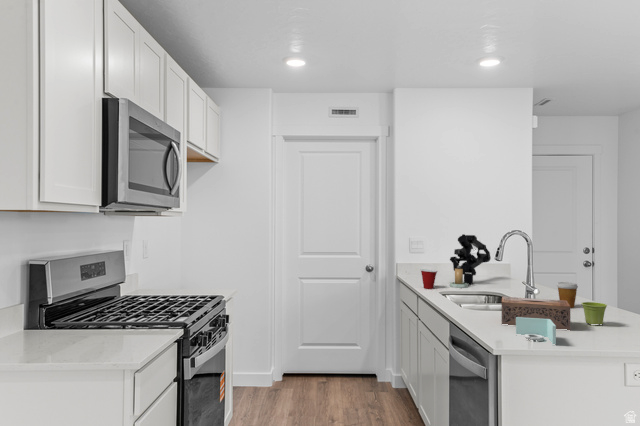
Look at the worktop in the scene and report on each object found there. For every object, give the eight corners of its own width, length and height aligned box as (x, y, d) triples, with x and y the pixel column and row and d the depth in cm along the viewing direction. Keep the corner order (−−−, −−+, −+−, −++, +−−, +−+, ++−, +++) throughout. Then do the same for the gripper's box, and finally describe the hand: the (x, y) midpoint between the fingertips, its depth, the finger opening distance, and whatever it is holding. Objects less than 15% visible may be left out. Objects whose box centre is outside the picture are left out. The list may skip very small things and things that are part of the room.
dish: (455, 284, 317) (455, 281, 317) (470, 286, 308) (470, 283, 309) (446, 286, 309) (446, 283, 309) (461, 288, 301) (461, 284, 301)
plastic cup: (439, 289, 295) (439, 270, 295) (422, 289, 295) (422, 270, 295) (435, 287, 306) (435, 268, 306) (418, 287, 306) (418, 268, 306)
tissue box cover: (566, 323, 202) (566, 300, 202) (570, 331, 188) (570, 306, 189) (502, 318, 212) (502, 296, 212) (501, 325, 198) (501, 301, 198)
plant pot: (607, 328, 194) (606, 306, 194) (580, 325, 199) (580, 304, 199) (607, 323, 202) (607, 303, 202) (582, 321, 207) (582, 301, 207)
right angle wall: (515, 336, 181) (515, 317, 181) (550, 339, 178) (550, 319, 178) (519, 344, 170) (519, 323, 170) (555, 347, 166) (555, 325, 166)
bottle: (457, 284, 313) (457, 265, 313) (464, 285, 309) (464, 265, 309) (453, 285, 309) (453, 265, 309) (460, 286, 305) (460, 266, 306)
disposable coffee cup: (577, 306, 242) (577, 282, 242) (578, 309, 233) (578, 285, 233) (556, 304, 246) (556, 281, 246) (557, 307, 237) (557, 284, 237)
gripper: (448, 245, 325) (441, 264, 318) (470, 242, 310) (463, 262, 303) (458, 254, 329) (451, 273, 322) (480, 252, 314) (473, 271, 307)
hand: (459, 270), depth 314 cm, fingers open, 9 cm apart
